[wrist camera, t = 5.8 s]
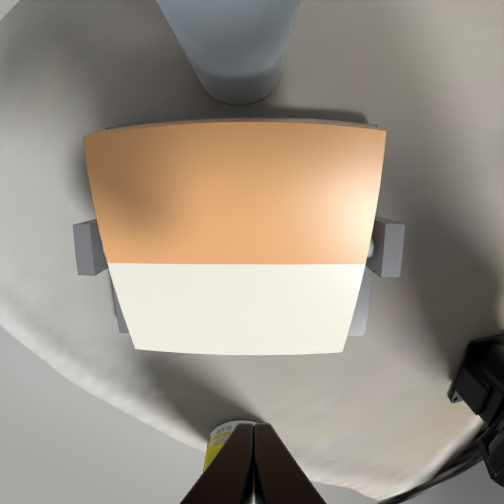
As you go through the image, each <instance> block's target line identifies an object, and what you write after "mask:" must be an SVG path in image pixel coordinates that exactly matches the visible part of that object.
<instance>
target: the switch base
mask: <svg viewBox="0 0 504 504" xmlns="http://www.w3.org/2000/svg"><path fill="white" fill-rule="evenodd" d="M212 119H293V120H312V121H326V122H338V123H349V124H358V125H366V126H374V127H377V128H378V125H373V124H365V123H356V122H347V121H336V120H324V119H310V118H290V117H215V118H195V119H180V120H168V121H158V122H148V123H140V124H132V125H125V126H118V127H111V128H106V130H109V129H116V128H123V127H130V126H138V125H147V124H156V123H167V122H179V121H193V120H212ZM377 209H378V201H377V207H376V213H375V219H374V224H373V230H372V235H371V237H372V239H373V245H374V248H373V254H372V256H371V257H367V260H366V264H365V269H364V273H363V277H362V282H361V286H360V290H359V294H358V298H357V302H356V306H355V309H354V313H353V317H352V321H351V324H350V328H349V331H348V335H347V336H359V335H365V329H366V322H367V316H368V309H369V301H370V293H371V285H372V276H373V272H374V273H376V274H377V275H378V276H380V277H400V273H401V264H402V255H403V245H404V233H405V224H402V223H398V222H395V221H392V220H388V219H385V218H381V217H378V216H377ZM73 232H74V243H75V253H76V261H77V269H78V275H90V276H95V275H97V274H99V273H100V272H102V271H103V270H105V269H107V268H108V263H107V260H106V256H105V255H104V253H103V249H102V240H101V236H100V232H99V228H98V223H97V219H94V220H90V221H86V222H82V223H78V224H75V225H73ZM111 279H112V278H111ZM112 286H113V294H114V301H115V307H116V314H117V320H118V325H119V331H120V332H121V333H129V330H128V327H127V324H126V322H125V319H124V316H123V313H122V310H121V307H120V304H119V301H118V297H117V294H116V291H115V288H114V284H113V281H112Z"/></svg>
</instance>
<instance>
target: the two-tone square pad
mask: <svg viewBox="0 0 504 504" xmlns="http://www.w3.org/2000/svg"><path fill="white" fill-rule="evenodd" d="M385 141H386V131H385V130H382V129H380V128H377V127H374V126H366V125H358V124H349V123H338V122H326V121H312V120H293V119H212V120H193V121H179V122H167V123H156V124H147V125H138V126H130V127H123V128H116V129H109V130H103V131H97V132H94V133H92V134H89V135H86V136H84V137H83V143H84V151H85V158H86V165H87V171H88V177H89V183H90V189H91V194H92V199H93V204H94V209H95V214H96V219H97V223H98V228H99V232H100V236H101V240H102V249H103V253H104V255H105V256H106V260H107V263H108V267H109V271H110V274H111V278H112V281H113V284H114V288H115V291H116V294H117V297H118V301H119V304H120V307H121V310H122V313H123V316H124V319H125V322H126V324H127V327H128V330H129V333H130V336H131V338H132V341H133V344H134V346H135V349H141V350H152V351H164V352H178V353H195V354H219V355H296V354H320V353H337V352H342V351H343V348H344V345H345V341H346V338H347V335H348V331H349V328H350V324H351V321H352V317H353V313H354V309H355V306H356V302H357V298H358V294H359V290H360V286H361V282H362V277H363V273H364V269H365V264H366V260H367V257H371V256H372V254H373V248H374V245H373V239H372V237H371V235H372V230H373V224H374V219H375V213H376V207H377V201H378V195H379V188H380V182H381V174H382V167H383V159H384V150H385Z"/></svg>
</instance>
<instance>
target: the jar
mask: <svg viewBox="0 0 504 504" xmlns="http://www.w3.org/2000/svg"><path fill="white" fill-rule="evenodd" d="M155 1H156V3H157V4H158V6H159V8H160V10H161V11H162V13H163V15H164V17H165V18H166V20H167V22H168V24H169V25H170V27H171V29H172V31H173V33H174V34H175V36H176V38H177V40H178V42H179V43H180V45H181V47H182V49H183V51H184V52H185V54H186V56H187V58H188V60H189V62H190V63H191V65H192V67H193V69H194V71H195V73H196V74H197V76H198V78H199V80H200V82H201V84H202V86H203V87H204V89H205V90H206V91H207V92H208V93H209V94H210V95H211V96H212V97H214V98H215V99H217V100H219V101H221V102H224V103H228V104H233V105H245V104H250V103H254V102H257V101H259V100H261V99H263V98H265V97H266V96H267V95H269V94H270V93H271V92H272V91H273V90H274V89H275V87H276V86H277V84H278V82H279V80H280V77H281V73H282V69H283V65H284V61H285V57H286V53H287V49H288V45H289V41H290V37H291V34H292V30H293V26H294V22H295V18H296V14H297V10H298V6H299V2H300V0H155Z"/></svg>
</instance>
